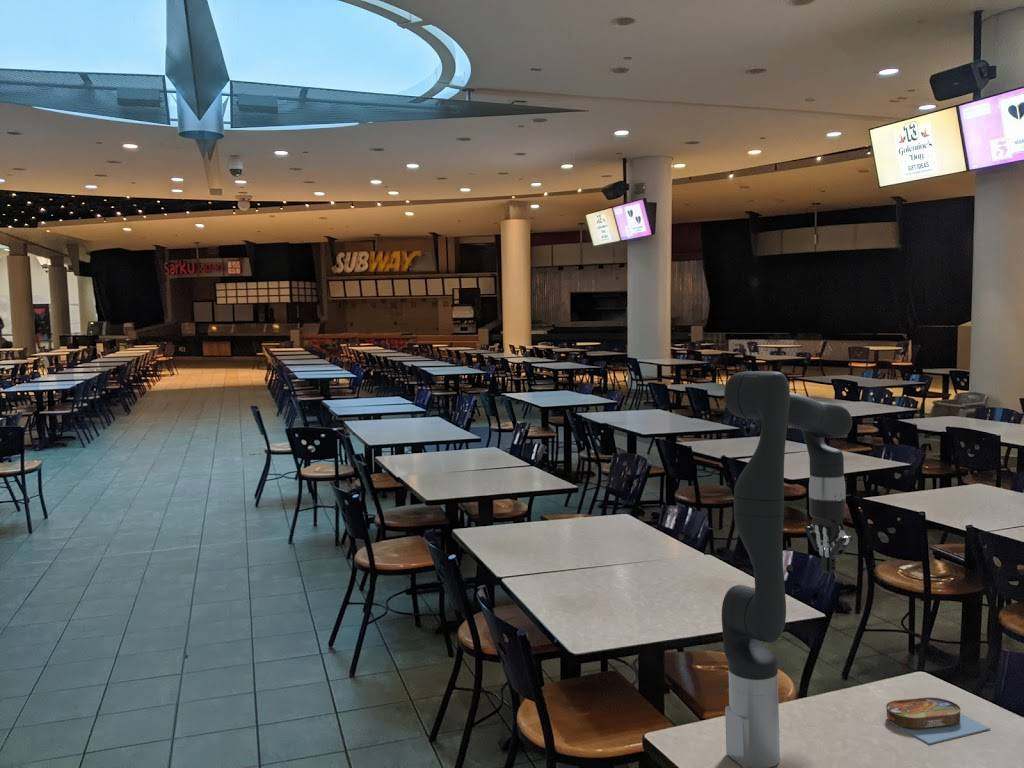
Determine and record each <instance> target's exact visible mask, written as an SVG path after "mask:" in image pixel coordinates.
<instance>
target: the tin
mask: <svg viewBox="0 0 1024 768" xmlns="http://www.w3.org/2000/svg"><path fill="white" fill-rule="evenodd" d="M885 708H886V719H888V720H889V722H890V721H891V722H893V723H894V724H896V725H897V726H900V727H903V728H908V729H925V728H935V727H945V726H953V725H956V724H958V723H959V722H960V713H961V707H960V706H959V705H958V704H957V703H956V702H953V701H950V700H948V699H945V698H944V699H943V698H940V697H929V696H928V697H918V698H908V699H907V698H906V699H897V700H896V699H895V700H892V701H889V702H888V703H886V705H885ZM897 726H896V727H897Z"/></svg>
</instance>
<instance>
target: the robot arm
mask: <svg viewBox="0 0 1024 768" xmlns="http://www.w3.org/2000/svg"><path fill="white" fill-rule="evenodd" d="M723 393H724V397H723V398H724V403H725V406H726V408H727V409H728V411H729V412H730V413H731V414H732V415H734V416H735V417H737V418H741V419H749V420H761V426H760V434H759V441H758V444H757V447H756V448H755V451H754V453H753V455H752V456H751V457H750V459H749V460H748V462H747V463H746V465H745V467H744V468H743V470H742V472H741V473H740V474H739V476H738V478H737V480H736V482H735V484H734V488H733V489H734V490H733V491H734V492H733V520H734V521H733V522H734V525H735V528H736V531H737V534H738V535H739V537H740V540H741V542H742V543H743V547H744V549H745V550H746V552H747V554H748V557H749V559H750V562H751V565H752V567H753V568H752V569H753V575H754V577H753V578H754V587H751V586H749V585H743V584H737V585H734V586H732V587H730V588H729V589H728V590H726V591H727V592H726V593H725V594H724V595H725V596H724V598H723V601H722V605H721V625H722V626H721V627H722V638H723V639H722V640H723V653H724V655H725V658H726V660H727V668H728V699H729V700H728V702H729V703H728V704H729V705H727V706H725V708H724V712H725V713H724V717H725V719H724V720H725V749H726V751H725V753H726V755H727V756H728V757H729V758H731V759H732V760H733V761H735V763H737V764H738V765H739V766H740V767H742V768H773V767H775V766H777V765H779V763H780V761H781V749H780V748H781V747H780V745H781V744H780V743H781V742H780V711H779V706H780V705H779V704H780V703H779V671H778V670H779V669H778V668H779V665H778V659H777V656H775V654H774V653H773V652H772V651H771V650H770V649H768V648H767V647H766V645H764V643H769V644H770V643H775V642H776V641H778V640H779V638H781V636H782V635H783V633H784V630H785V629H784V628H785V626H786V620H787V601H786V600H787V599H786V588H785V586H786V585H785V576H784V575H785V574H784V572H785V571H784V554H783V551H784V550H783V548H784V546H783V545H784V543H783V541H784V540H783V539H784V538H783V537H784V520H785V519H784V518H785V517H784V516H785V515H784V514H785V483H784V482H785V456H786V455H785V454H786V453H785V452H786V440H787V434H788V433H787V430H788V426H789V427H792V428H794V429H797V430H801V434H802V436H803V439H804V442H805V445H806V449H807V453H808V456H809V458H808V459H809V481H808V503H809V504H808V506H809V508H808V509H809V511H808V513H809V516H810V517H811V518H812V519H811V524H810V525H809V526H805V527H804V531H805V532H806V535H807V537H808V539H809V541H810V544H811V545H812V548H813V549H814V551H815V552H818V553H819V556H820V558H821V571H822V573H825V574H827V575H831V574H835V572H836V566H837V565H836V558H837V557H840V556H844V553H845V552H846V551H847V550H848V548H849V546H850V545H851V543H852V542H853V536H851V535H847V534H846V532H845V525H844V523H843V521H844V518H846V515H847V509H846V508H847V505H846V503H847V502H846V496H847V495H846V494H847V493H846V483H845V482H846V480H845V465H844V464H845V463H844V461H845V460H844V454H843V452H842V450H841V449H838V448H835V447H832V446H829V445H827V444H826V442H825V441H824V438H828V439H829V438H831V439H841V438H844V437H845V436H847V435H848V434H849V433H850V431H851V430H852V427H853V418H852V415H851V413H850V411H848V409H847V408H845V407H844V406H842V405H840V404H833V403H830V402H829V403H828V402H822V401H817V400H816V399H813V398H811V397H809V396H806V395H804V394H799V393H795V392H794V393H793V392H790V385H789V380H788V378H787V377H786V375H785V374H784V373H782V372H780V371H764V370H763V371H762V370H761V371H757V370H755V371H748V370H747V371H740V372H736V373H734V374H733V375H731V376H730V377H729V378H728V380H727V382H726V384H725V387H724V392H723Z"/></svg>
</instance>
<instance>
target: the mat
mask: <svg viewBox="0 0 1024 768" xmlns="http://www.w3.org/2000/svg"><path fill="white" fill-rule="evenodd" d="M889 723H890V724H892V725H893V726H895V727H897V728H899V729H901V730H902V731H904V732H905V733H908V734H910V735H911V736H913V737H915V738H917V739H919V741H920V740H921V741H922V742H924V743H925V744H927V745H930V746H931V745H933V744H937V743H941V742H946V741H949V740H950V741H951V740H954V739H957V738H958V739H959V738H962V737H965V736H969V735H974V734H978V733H982V732H986V731H990V730H991V727H988V726H987V725H985V724H983V723H981V722H979V721H977V720H974V719H973V718H970V717H969V716H966V715H965V714H964V713H961V712H960V722H959V723H958V724H956V725H953V726H945V727H935V728H925V729H908V728H903V727H900V726H897V725H896V724H894V723H893V722H891V721H890V720H889Z"/></svg>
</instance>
